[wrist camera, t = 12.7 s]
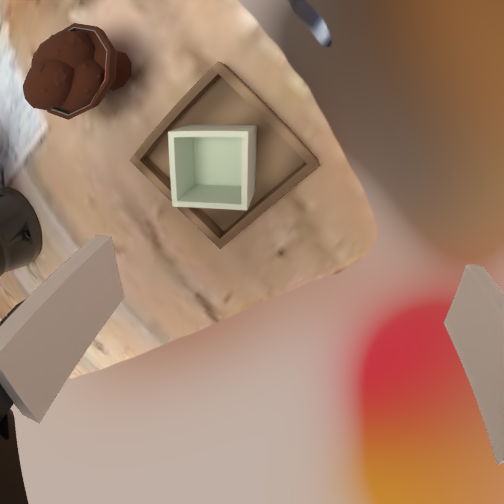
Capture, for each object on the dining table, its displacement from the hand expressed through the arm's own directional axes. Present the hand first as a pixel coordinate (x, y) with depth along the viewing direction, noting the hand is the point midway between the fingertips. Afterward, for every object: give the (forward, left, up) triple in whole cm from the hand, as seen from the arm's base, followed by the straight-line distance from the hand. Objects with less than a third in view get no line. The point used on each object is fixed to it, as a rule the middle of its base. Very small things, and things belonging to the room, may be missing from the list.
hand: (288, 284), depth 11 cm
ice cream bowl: (-24, -9, -29) cm, 39 cm away
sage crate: (-5, -7, -28) cm, 29 cm away
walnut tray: (-5, -7, -29) cm, 30 cm away
